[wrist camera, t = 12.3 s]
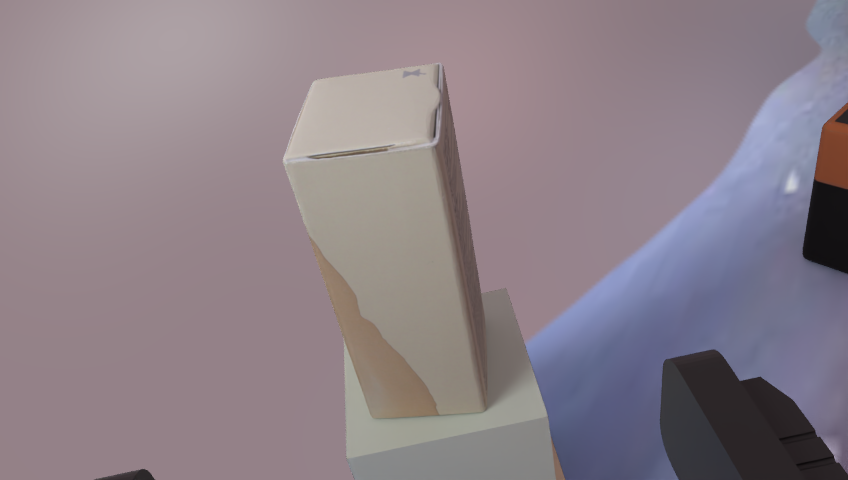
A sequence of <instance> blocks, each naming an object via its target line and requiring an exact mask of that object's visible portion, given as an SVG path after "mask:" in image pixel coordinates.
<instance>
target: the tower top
mask: <svg viewBox="0 0 848 480" xmlns="http://www.w3.org/2000/svg"><path fill="white" fill-rule="evenodd" d="M481 296H482V303H483V308H484V314H485V326H486V344H487V367H488V396H487V408H486V410H485V411H484V412H479V413H464V414H451V415H436V416H417V417H401V418H372V417H371V415H370V413H369V410H368V407H367V404H366V401H365V398H364V395H363V392H362V389H361V386H360V384H359V381H358V378H357V375H356V372H355V370H354V367H353V364H352V361H351V358H350V355H349V353H348V350H347V347H346V344H345V341H344V361H345V363H344V364H345V411H346V457H347V458H346V459H347V461H348V464H349V467H350V469H351V471H352V474H353V477H354V479H355V480H556V475H555V467H554V459H553V452H552V444H551V436H550V428H549V420H548V415H547V412H546V408H545V405H544V402H543V399H542V396H541V393H540V390H539V387H538V384H537V381H536V378H535V375H534V372H533V369H532V366H531V363H530V359H529V356H528V353H527V350H526V347H525V344H524V341H523V338H522V335H521V332H520V329H519V326H518V323H517V320H516V317H515V314H514V311H513V308H512V304H511V301H510V298H509V295H508V292H507V289H506V288H505V289H500V290H495V291H491V292H486V293H481Z"/></svg>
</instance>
